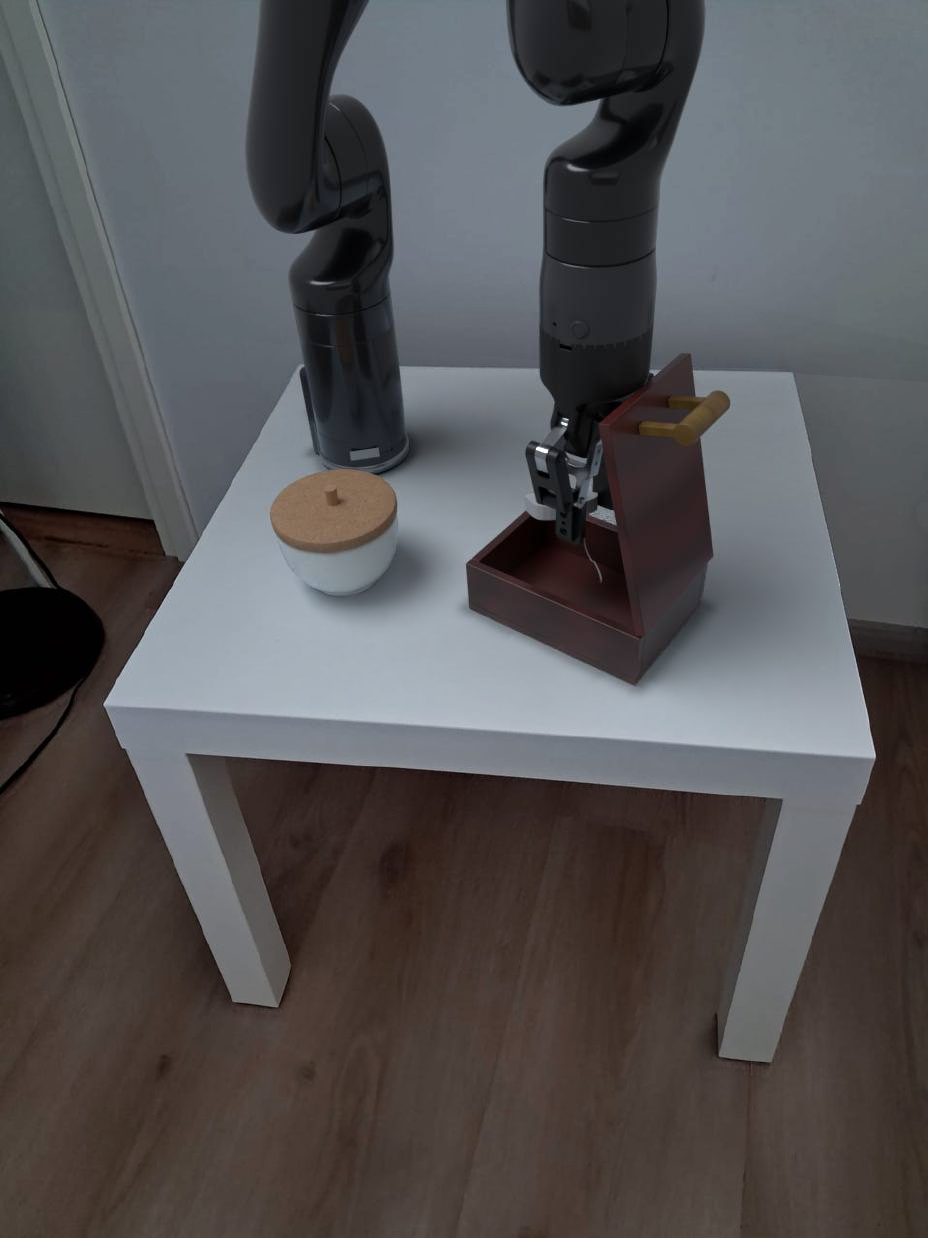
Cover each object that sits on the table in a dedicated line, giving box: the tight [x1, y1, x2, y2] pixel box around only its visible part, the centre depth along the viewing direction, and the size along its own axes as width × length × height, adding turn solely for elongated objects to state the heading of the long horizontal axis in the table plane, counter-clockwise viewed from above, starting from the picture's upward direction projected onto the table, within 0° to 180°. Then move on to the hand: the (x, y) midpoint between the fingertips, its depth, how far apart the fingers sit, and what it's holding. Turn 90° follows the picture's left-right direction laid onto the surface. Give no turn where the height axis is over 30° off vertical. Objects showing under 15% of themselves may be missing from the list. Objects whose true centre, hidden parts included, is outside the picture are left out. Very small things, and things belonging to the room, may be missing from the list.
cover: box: [599, 352, 731, 636], centre depth 66 cm, size 17×11×5 cm
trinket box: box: [269, 469, 399, 597], centre depth 81 cm, size 11×11×9 cm
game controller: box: [524, 484, 602, 583], centre depth 72 cm, size 6×12×3 cm, turn 31°
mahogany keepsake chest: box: [465, 510, 709, 687], centre depth 77 cm, size 16×11×5 cm
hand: (588, 521), depth 73 cm, fingers closed on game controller, 4 cm apart
